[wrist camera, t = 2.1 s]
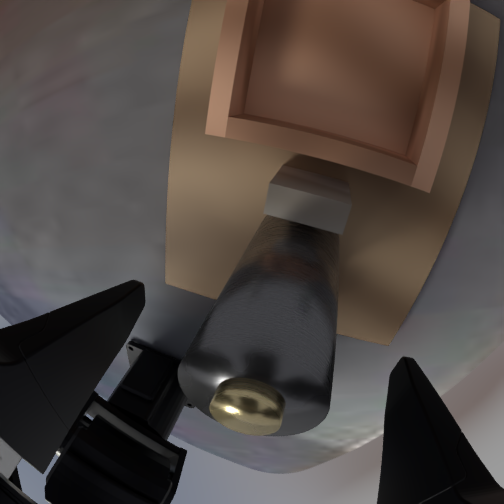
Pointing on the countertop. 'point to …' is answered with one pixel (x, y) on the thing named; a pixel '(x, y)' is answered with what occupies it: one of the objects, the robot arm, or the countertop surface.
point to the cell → (270, 335)
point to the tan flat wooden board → (328, 139)
